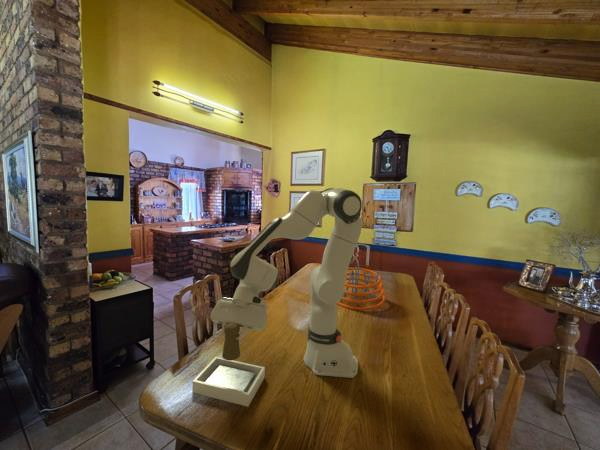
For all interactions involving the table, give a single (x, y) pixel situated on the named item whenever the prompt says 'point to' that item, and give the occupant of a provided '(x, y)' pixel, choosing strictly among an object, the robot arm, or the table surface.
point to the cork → (231, 342)
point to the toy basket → (365, 286)
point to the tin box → (232, 378)
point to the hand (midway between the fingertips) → (231, 338)
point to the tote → (224, 392)
